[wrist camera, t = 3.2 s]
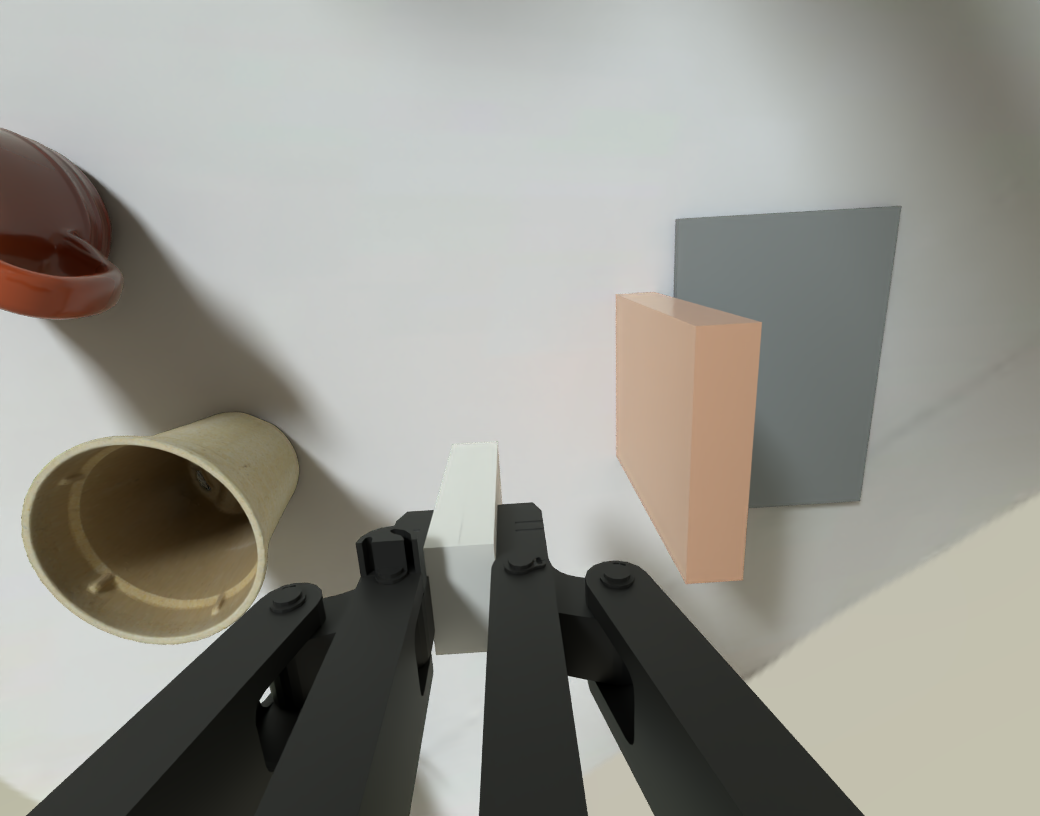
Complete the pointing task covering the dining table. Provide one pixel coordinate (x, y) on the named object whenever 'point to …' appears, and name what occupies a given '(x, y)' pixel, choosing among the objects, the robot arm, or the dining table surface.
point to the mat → (801, 335)
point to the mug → (52, 236)
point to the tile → (688, 426)
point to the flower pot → (161, 526)
